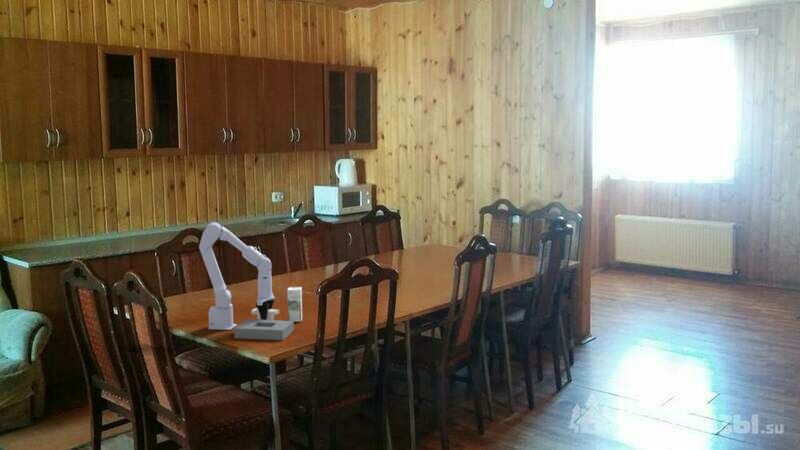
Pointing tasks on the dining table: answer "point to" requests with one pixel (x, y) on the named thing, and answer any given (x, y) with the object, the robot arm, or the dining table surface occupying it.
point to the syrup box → (294, 304)
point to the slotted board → (264, 329)
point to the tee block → (269, 314)
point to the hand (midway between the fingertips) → (265, 318)
